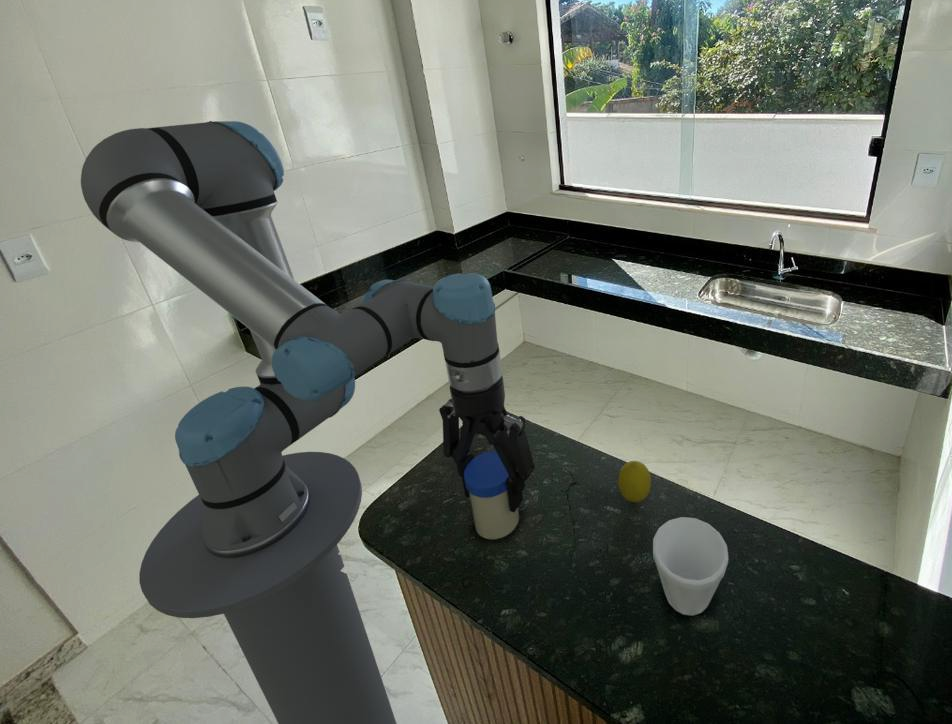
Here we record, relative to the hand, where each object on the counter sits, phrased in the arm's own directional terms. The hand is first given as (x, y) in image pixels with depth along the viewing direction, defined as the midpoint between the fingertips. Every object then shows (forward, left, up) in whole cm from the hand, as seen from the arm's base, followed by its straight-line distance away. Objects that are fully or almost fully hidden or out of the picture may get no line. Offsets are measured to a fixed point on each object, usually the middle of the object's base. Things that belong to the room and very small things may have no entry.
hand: (493, 497), depth 78 cm
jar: (0, 0, -5) cm, 5 cm away
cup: (+32, -1, -5) cm, 32 cm away
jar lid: (0, 0, +6) cm, 6 cm away
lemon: (+20, +12, -5) cm, 24 cm away
